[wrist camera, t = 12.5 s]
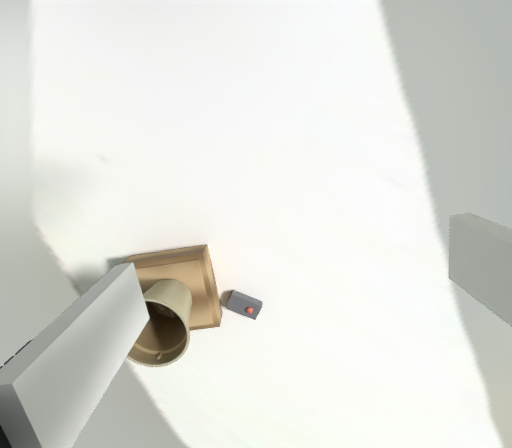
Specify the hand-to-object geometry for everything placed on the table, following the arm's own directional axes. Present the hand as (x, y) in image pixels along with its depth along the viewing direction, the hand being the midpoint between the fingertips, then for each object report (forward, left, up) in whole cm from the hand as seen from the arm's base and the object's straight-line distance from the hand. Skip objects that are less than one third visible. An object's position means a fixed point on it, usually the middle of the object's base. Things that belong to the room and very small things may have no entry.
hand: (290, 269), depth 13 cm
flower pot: (+15, -17, -28) cm, 36 cm away
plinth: (+15, -17, -32) cm, 39 cm away
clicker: (+20, -7, -32) cm, 38 cm away
